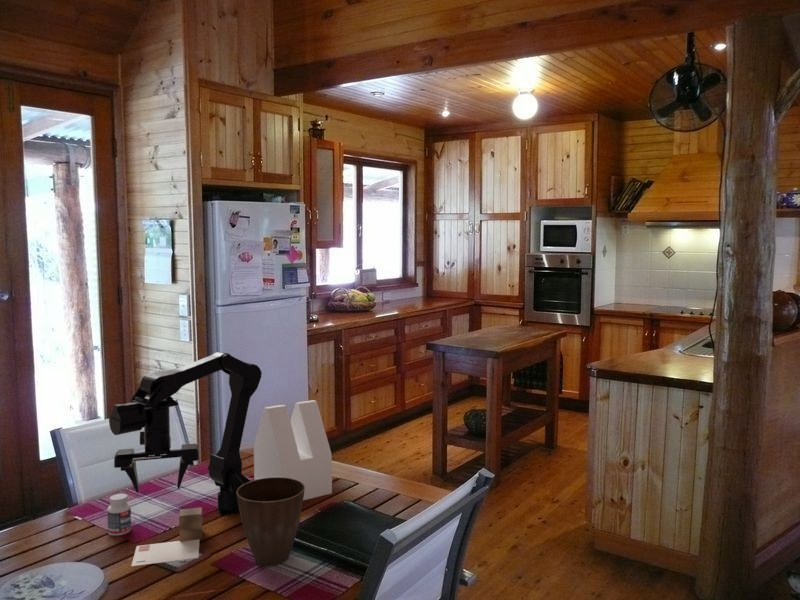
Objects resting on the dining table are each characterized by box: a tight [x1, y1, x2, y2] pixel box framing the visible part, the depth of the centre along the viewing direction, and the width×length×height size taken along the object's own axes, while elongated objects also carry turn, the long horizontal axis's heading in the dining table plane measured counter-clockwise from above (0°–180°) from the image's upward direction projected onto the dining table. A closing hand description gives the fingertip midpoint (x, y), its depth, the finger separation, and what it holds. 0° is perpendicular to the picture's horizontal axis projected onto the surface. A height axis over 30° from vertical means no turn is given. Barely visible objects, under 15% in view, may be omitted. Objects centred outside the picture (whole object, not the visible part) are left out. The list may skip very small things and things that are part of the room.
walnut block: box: [178, 507, 203, 542], centre depth 156 cm, size 5×5×6 cm
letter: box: [130, 539, 201, 567], centre depth 148 cm, size 14×10×1 cm
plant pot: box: [236, 477, 305, 567], centre depth 145 cm, size 15×15×16 cm
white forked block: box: [253, 399, 333, 501], centre depth 186 cm, size 19×15×25 cm
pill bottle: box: [106, 493, 132, 536], centre depth 159 cm, size 5×5×9 cm
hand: (158, 490), depth 156 cm, fingers open, 9 cm apart
